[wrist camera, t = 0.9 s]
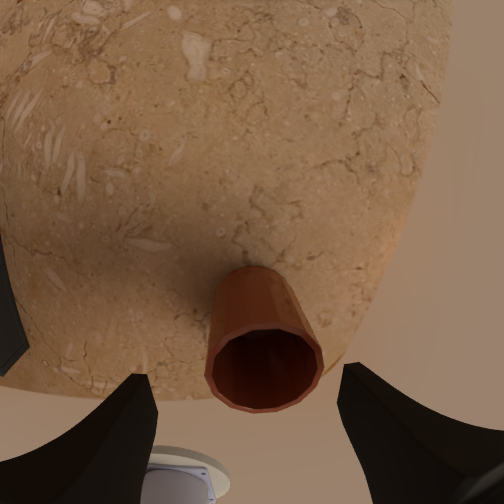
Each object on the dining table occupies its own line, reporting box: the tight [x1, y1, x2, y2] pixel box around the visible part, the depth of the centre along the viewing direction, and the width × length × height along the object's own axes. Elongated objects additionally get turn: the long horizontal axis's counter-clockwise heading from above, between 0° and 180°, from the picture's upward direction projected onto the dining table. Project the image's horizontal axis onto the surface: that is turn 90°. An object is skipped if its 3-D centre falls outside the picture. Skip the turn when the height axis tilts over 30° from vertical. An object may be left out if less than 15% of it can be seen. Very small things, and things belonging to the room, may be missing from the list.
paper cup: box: [204, 266, 324, 413], centre depth 15 cm, size 5×5×7 cm
